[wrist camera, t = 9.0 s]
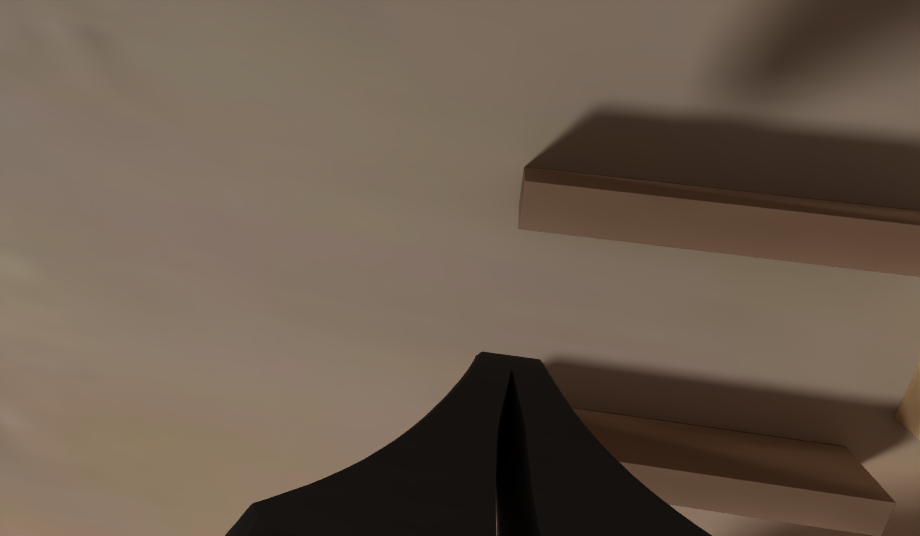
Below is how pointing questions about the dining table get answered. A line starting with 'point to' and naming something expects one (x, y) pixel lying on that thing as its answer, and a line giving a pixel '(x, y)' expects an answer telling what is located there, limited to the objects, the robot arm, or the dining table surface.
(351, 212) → the dining table surface
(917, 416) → the oak block
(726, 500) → the walnut channel
